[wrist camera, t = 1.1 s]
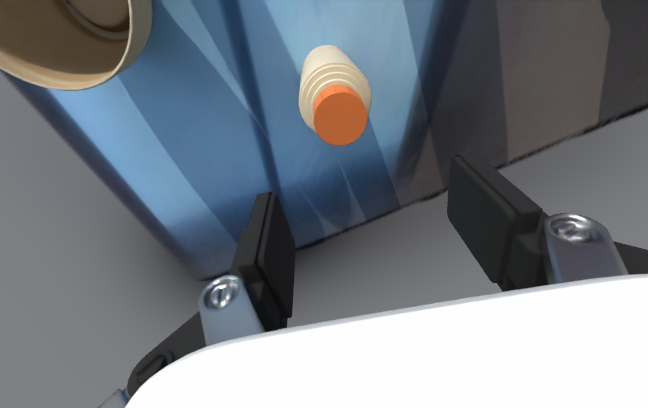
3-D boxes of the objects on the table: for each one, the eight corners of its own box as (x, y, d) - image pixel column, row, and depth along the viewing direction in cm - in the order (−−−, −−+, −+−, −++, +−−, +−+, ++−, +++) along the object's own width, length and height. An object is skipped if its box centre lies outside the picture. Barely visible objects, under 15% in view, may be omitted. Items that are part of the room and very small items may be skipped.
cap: (372, 102, 22) (378, 111, 20) (343, 142, 24) (347, 154, 22) (331, 73, 21) (333, 80, 19) (303, 118, 23) (303, 128, 21)
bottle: (361, 65, 36) (401, 104, 20) (333, 108, 38) (349, 171, 23) (319, 33, 33) (327, 51, 18) (292, 81, 36) (281, 132, 21)
